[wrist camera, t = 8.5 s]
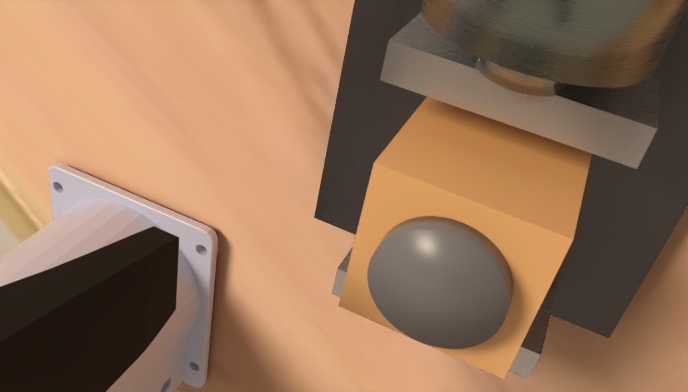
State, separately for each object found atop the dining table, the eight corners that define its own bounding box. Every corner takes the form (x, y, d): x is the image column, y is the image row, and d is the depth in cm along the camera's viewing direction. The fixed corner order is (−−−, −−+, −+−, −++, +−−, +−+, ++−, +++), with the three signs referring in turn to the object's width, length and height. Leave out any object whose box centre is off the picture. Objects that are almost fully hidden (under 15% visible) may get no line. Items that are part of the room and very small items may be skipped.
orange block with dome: (536, 262, 20) (498, 397, 15) (401, 209, 21) (329, 320, 16) (595, 138, 17) (569, 256, 13) (437, 83, 18) (363, 175, 14)
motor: (611, 317, 21) (592, 477, 16) (326, 203, 23) (234, 312, 18) (870, -129, 13) (984, -85, 9) (411, -232, 16) (295, -244, 11)
